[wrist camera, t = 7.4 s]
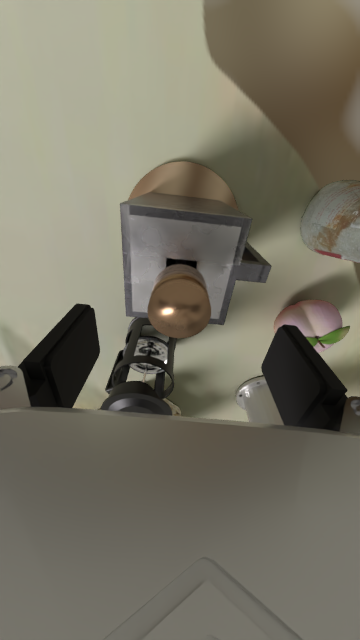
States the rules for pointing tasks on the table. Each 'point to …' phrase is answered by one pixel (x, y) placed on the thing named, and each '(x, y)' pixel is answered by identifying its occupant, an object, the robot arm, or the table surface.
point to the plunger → (179, 301)
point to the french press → (146, 359)
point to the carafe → (186, 247)
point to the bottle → (334, 221)
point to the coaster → (185, 183)
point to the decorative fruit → (314, 322)
